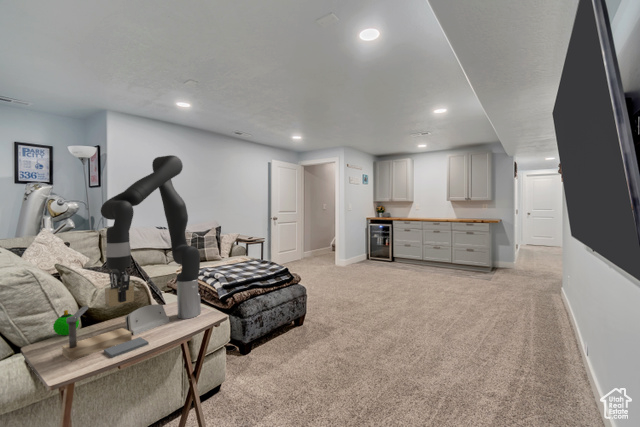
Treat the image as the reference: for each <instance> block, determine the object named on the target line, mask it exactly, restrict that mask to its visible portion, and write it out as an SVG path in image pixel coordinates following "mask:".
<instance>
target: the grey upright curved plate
mask: <svg viewBox="0 0 640 427" xmlns="http://www.w3.org/2000/svg"><path fill="white" fill-rule="evenodd" d="M124 321H125V329H126V330H128V331H130V332H131V333H132V335H133V336H137V335H140V334H141V333H144V332H147V331H149V330H152V329H154V328H157V327H160V326H162V325H164V324H167V323H169V322H171V321H170V318H169V316H168V315H167V313H166V311H165V308H164V305H163V304H149V305H144V306H142V307H139V308H137V309H135V310H133V311H131V312H130V313H128V314H127V315H126V316H125V318H124Z"/></svg>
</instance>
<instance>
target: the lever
mask: <svg viewBox="0 0 640 427" xmlns="http://www.w3.org/2000/svg"><path fill="white" fill-rule="evenodd" d="M87 310H89V305H83V306H82V307H80V309H78V310H77V311H76V312H74V314H72V315H73V316H71V317H68V318H66V320H67V324H70V323H75V322H77V321H78V320H79V318H80V317H81V316H83V314H84V313H86V311H87Z"/></svg>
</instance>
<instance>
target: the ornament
mask: <svg viewBox="0 0 640 427" xmlns="http://www.w3.org/2000/svg"><path fill="white" fill-rule="evenodd" d="M73 315H74V314H71V313H69V310H68V309H66V310H63V314H62V315H61V316H60V317H58V318H57V319H56V320H55V321H54V323H53V324H52V325H53V326H52V327H53V331H54V333H56V335H59V336H60V335H61V336H69V324H67V320H66V318H68V317H71V316H73ZM79 322H80V320H79V319H78V321H77V322H76V330H77V329H78V328H79V326H80V323H79Z"/></svg>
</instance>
